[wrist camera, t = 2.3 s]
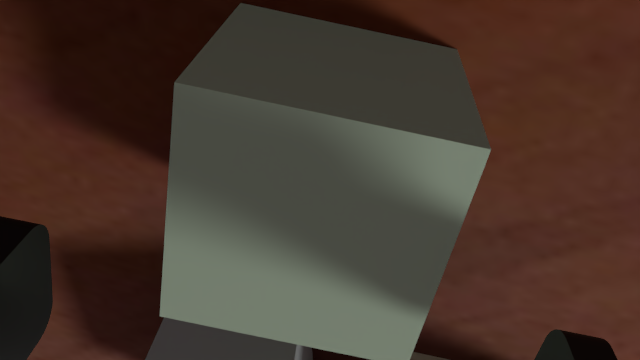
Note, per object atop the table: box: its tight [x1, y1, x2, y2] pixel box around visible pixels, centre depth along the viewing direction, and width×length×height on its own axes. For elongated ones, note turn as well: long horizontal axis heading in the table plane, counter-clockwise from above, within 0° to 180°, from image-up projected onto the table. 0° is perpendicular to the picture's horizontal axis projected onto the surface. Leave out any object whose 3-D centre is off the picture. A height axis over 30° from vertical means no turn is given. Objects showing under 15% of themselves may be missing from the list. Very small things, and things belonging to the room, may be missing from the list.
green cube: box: [160, 3, 491, 360], centre depth 13 cm, size 5×5×5 cm
